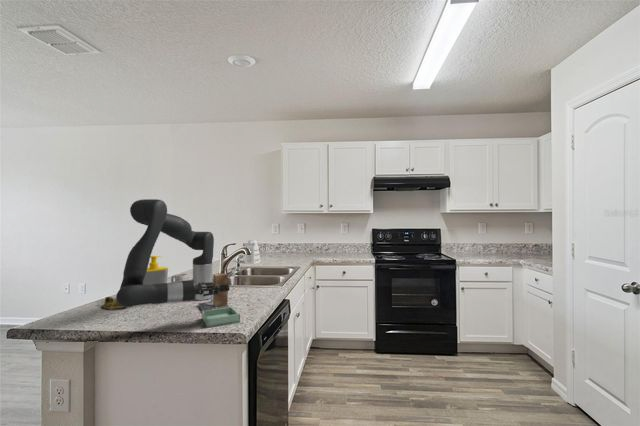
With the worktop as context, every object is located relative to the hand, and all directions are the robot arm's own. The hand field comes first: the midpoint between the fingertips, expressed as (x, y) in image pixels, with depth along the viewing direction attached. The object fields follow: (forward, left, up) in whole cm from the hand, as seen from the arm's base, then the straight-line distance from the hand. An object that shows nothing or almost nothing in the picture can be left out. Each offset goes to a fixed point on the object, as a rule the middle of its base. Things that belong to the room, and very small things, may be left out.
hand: (227, 286), depth 125 cm
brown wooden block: (-2, -2, -7) cm, 8 cm away
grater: (-65, +149, -13) cm, 163 cm away
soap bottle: (-54, +21, -13) cm, 59 cm away
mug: (-62, +49, -13) cm, 80 cm away
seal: (-59, +3, -13) cm, 61 cm away
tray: (-2, -2, -13) cm, 13 cm away
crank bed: (-14, +12, -13) cm, 23 cm away
